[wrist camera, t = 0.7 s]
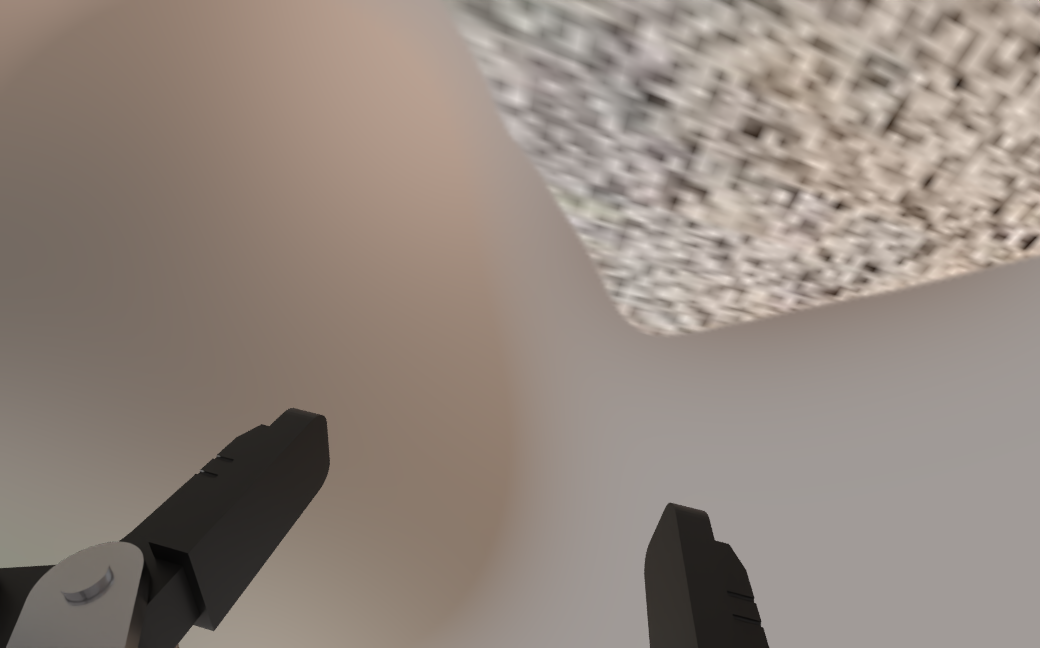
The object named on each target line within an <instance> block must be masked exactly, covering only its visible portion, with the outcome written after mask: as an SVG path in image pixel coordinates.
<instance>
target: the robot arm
mask: <svg viewBox="0 0 1040 648" xmlns="http://www.w3.org/2000/svg"><path fill="white" fill-rule="evenodd" d="M329 465H330V458H329V445H328V432H327V421H326V418H325V417H324V416H323V415H320V414H316V413H311V412H307V411H303V410H299V409H295V408H290V409H288V410H286V411H285V412H284V413H283V414H282V415H281V416H280V417H279V418H278V419H276V421H274V422H273V423H272V424H271V425H270V426H266V425H262V424H261V425H260V426H258V427H256V428H254V429H252V430H250V431H248V432H246V433H244V434H242V435H240V436H238V437H236V438H235V439H234V440H233V441H232V442H231V443H230V444H229V445H228V446H227V447H225V448H224V449H223V450H222V451H221V452H220V453H219V454H217V457H216V458H215V459H212V460H211V461H210V462H209V463H207V464H206V465H205V466H204V467H203V468H202V469H201V470H200V473H199V474H195V475H194V476H193V477H192V478H191V479H190V480H189V481H188V482H187V483H185V484H184V485H183V486H182V487H181V488H180V489H179V490H177V491H176V492H175V493H174V494H173V495H172V496H171V497H170V498H169V499H167V500H166V501H165V502H164V503H163V504H162V505H161V506H160V507H159V508H157V509H156V510H155V511H154V512H153V513H152V514H151V515H150V516H148V517H147V518H146V519H145V520H144V521H143V522H142V523H141V524H140V525H139V526H137V527H136V528H135V529H134V530H133V531H132V532H131V533H129V534H128V535H127V536H126V537H124V538H123V539H122V540H120V541H119V542H107V543H102V544H98V545H95V546H91V547H88V548H86V549H83V550H81V551H79V552H77V553H75V554H73V555H71V556H69V557H67V558H66V559H64V560H62V561H61V562H59V563H58V564H57V565H48V566H33V567H16V568H0V648H179V642H180V640H181V639H182V638H183V637H184V635H185V634H186V633H187V632H188V631H189V629H190V628H191V627H192V625H196V626H199V627H202V628H205V629H209V630H212V631H214V630H215V629H216V628H217V626H218V625H219V624H220V622H221V621H222V620H223V618H224V617H225V616H226V614H227V613H228V612H229V610H230V609H231V608H232V606H233V605H234V604H235V602H236V601H237V600H238V598H239V597H240V596H241V594H242V593H243V591H244V590H245V589H246V588H247V586H248V585H249V584H250V582H251V581H252V580H253V578H254V577H255V576H256V574H257V573H258V572H259V570H260V569H261V568H262V566H263V565H264V563H265V562H266V560H267V559H268V558H269V557H270V555H271V554H272V553H273V551H274V550H275V549H276V547H277V546H278V545H279V543H280V542H281V541H282V539H283V538H284V537H285V535H286V534H287V533H288V531H289V530H290V529H291V527H292V526H293V525H294V523H295V522H296V521H297V519H298V518H299V517H300V515H301V514H302V513H303V511H304V510H305V509H306V507H307V506H308V504H309V503H310V502H311V501H312V499H313V498H314V496H315V495H316V494H317V493H318V491H319V490H320V488H321V487H322V485H323V483H324V481H325V479H326V477H327V474H328V470H329ZM644 571H645V572H644V575H645V589H646V602H647V615H648V627H649V639H650V648H769V646H768V643H767V639H766V636H765V632H764V629H763V627H761V619H760V615H759V612H758V609H757V606H756V603H754V596H753V592H752V588H751V585H750V582H749V579H748V575H747V572H746V569H745V568H744V566H743V565H742V563H741V562H740V560H739V559H738V557H737V556H736V554H735V553H734V551H733V550H732V548H731V547H730V545H729V544H726V543H723V542H719V541H715V540H714V536H713V532H712V528H711V524H710V520H709V517H708V514H707V513H706V512H705V511H702V510H698V509H694V508H690V507H686V506H682V505H677V504H673V503H669V504H668V505H667V506H666V508H665V510H664V512H663V514H662V516H661V519H660V521H659V523H658V525H657V528H656V530H655V532H654V534H653V536H652V538H651V541H650V543H649V545H648V548H647V552H646V558H645V569H644Z"/></svg>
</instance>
